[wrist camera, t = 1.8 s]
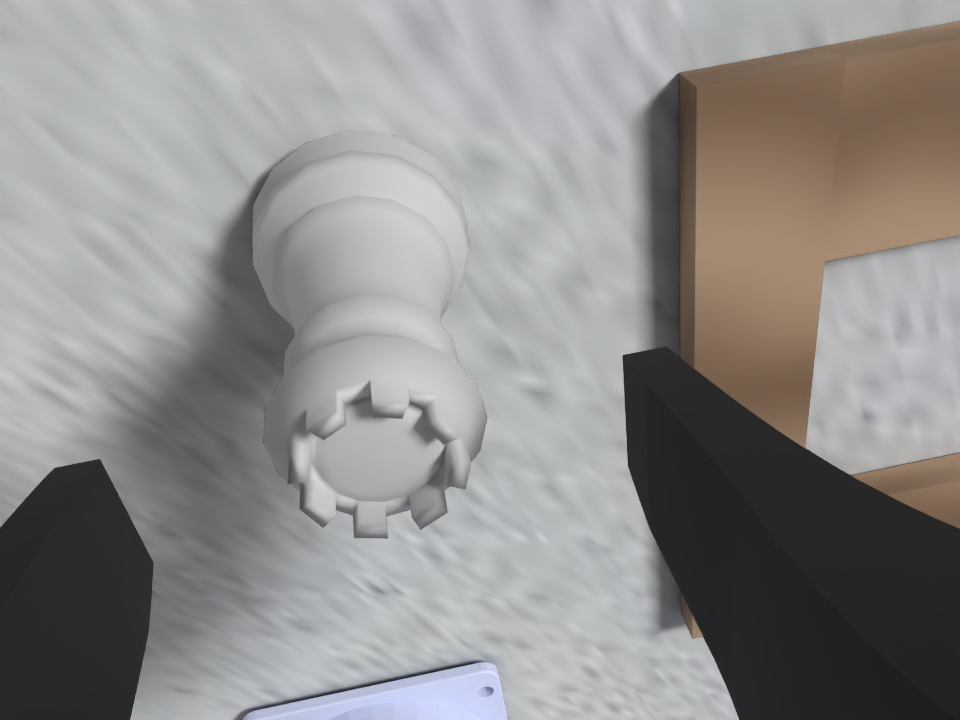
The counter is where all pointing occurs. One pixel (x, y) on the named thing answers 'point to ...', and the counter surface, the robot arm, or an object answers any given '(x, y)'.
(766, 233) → the walnut socket board
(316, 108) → the counter surface
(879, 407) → the counter surface
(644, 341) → the counter surface
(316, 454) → the rook chess piece
